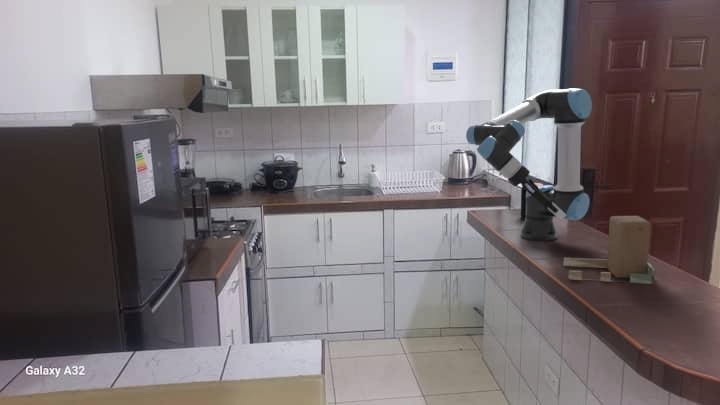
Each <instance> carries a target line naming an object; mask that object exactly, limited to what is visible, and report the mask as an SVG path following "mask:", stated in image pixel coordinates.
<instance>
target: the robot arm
mask: <svg viewBox="0 0 720 405" xmlns="http://www.w3.org/2000/svg"><path fill="white" fill-rule="evenodd" d="M592 109H593V102H592V98H591V95H590V94H589V92H587V90H585V89H583V88H566V89H549V90H545V91H542V92H539V93H536V94H535V95H533V96H530V97H528V98H526V99H524V100H523V101H522V102H521V103H520V104H519V105H517V106H516V107H513V108H512V109H510V110H508V111H506V112H504V113H502V114H500V115H498V116H496V117H494V118H492V119H490V120H489V121H486V122H485V123H483V124H479V125H477V124H475V125H471V126H469V127H468V128H467V130H466V133H465V134H466V135H465V137H466V141H467V143H469V144H470V145H473V146H474V145H475V146H478V147H477V148H476V151H477V153H478V154H479V156H481V157H482V158H483V160H485V161H486V162H487V163H488V164H489V165H490V166H492V168H494V170H496V171H497V172H498V173H499V174H498V175H499V176H503V177H504V178H505V179H507V182H509V184H511V185H512V186H513V187H517V186H518V185H519V184H522V185H523V186H522V185H521V188H522V187H523V189H524V190H525V191H526V218H525V219H524V222H523V225H522V228H521V230H520V236H521V237H522V238H524V239H526V240H529V241H545V242H546V241H553V240H555V239H557V235H558V234H557V229H556V226H555V223H554V218H557V219H558V220H560V221H562V220H564V219H565V220H568V221H570V220H572V221H579V220H581V219H582V218H584V217H585V216H586V213H587V212H588V210H589V207H590V202H591V200H590V196H589V195H588V194H587V193H586V192H584V186H583V185H581V184H580V182H581V180H580V179H581V141H582V140H581V138H582V137H581V136H582V135H581V134H582V133H581V132H582V131H581V130H582V129H581V128H582V126H583V125H584V124H585V123H586V118H589V117H590V115H591V112H592ZM539 119H541V120H542V119H554V120H553V121H554V122H553V124H554V125H555V126H556V127H557V184H556V185H555V186H554V185H551V184H547V185H545V184H543V186H537V185H536V184H535V183H536V182H534V180H532V179H531V178H527V177H528V176H529V175H530V170H529V169H528V168H527V167H526V166H525V165H522V162H520V161H519V159H518V158H516V157H515V156H514V155H513V154H512V153H511V151H512V149H514V148H515V146H516V145H517V144H518V143H519V142H520V141H521V139H522V138H523V137H524V135H525V132H526V128H525V126H524V124H526V123H528V122H535V121H537V120H539Z"/></svg>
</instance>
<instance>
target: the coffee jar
mask: <svg viewBox="0 0 720 405" xmlns="http://www.w3.org/2000/svg"><path fill="white" fill-rule="evenodd" d="M534 183H535V184H536V185H537V186H543V185H544V184H543V183H540V182H534ZM520 184H521V183H520ZM522 186H523V185H522V184H521V189H520V190H521V191H520V217H521V218H522V219H521V220H525V218H526V191H525V190H524V189H523V187H522Z"/></svg>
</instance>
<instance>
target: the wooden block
mask: <svg viewBox="0 0 720 405" xmlns="http://www.w3.org/2000/svg"><path fill="white" fill-rule="evenodd" d="M650 236H651V222H650V221H648V220H647V219H645V218H643V217H641V216H639V215H613V216H610V217H609V227H608V243H607V256H606V257H607V258H606V259H607V268H606V270H607V271H608V272H611V275H613V276H614V277H615V278H617V279H630V273H633V274H647V262H649V261H648V260H649V249H650V248H649V245H650V238H651V237H650Z"/></svg>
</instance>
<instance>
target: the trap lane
mask: <svg viewBox="0 0 720 405" xmlns="http://www.w3.org/2000/svg"><path fill="white" fill-rule="evenodd" d="M563 266H564V267H573V268H574V267H575V268H576V267H580V268H601V269H607V258H606V259H604V258H603V259H602V258H585V257H584V258H581V257H563ZM655 272H656V268H654V267H653V266H652V265H651V263H650V262H649V261H648V262H647V274H633V273H630V278H629V280H614V279H613V280H611V277H612V273H611V272H610V271H607V272H606V271H600V278H599V279H594V278H593V279H592V278H583V276H582V275H583V271H582V270H568V280H569V279H570V281H571V280H574V281H590V282H592V281H593V282H609V283H610V282H611V283H628V284H629V283H630V284H631V283H632V284H647V285H649V284H650V285H654V284H655V275H656V274H655Z"/></svg>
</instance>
